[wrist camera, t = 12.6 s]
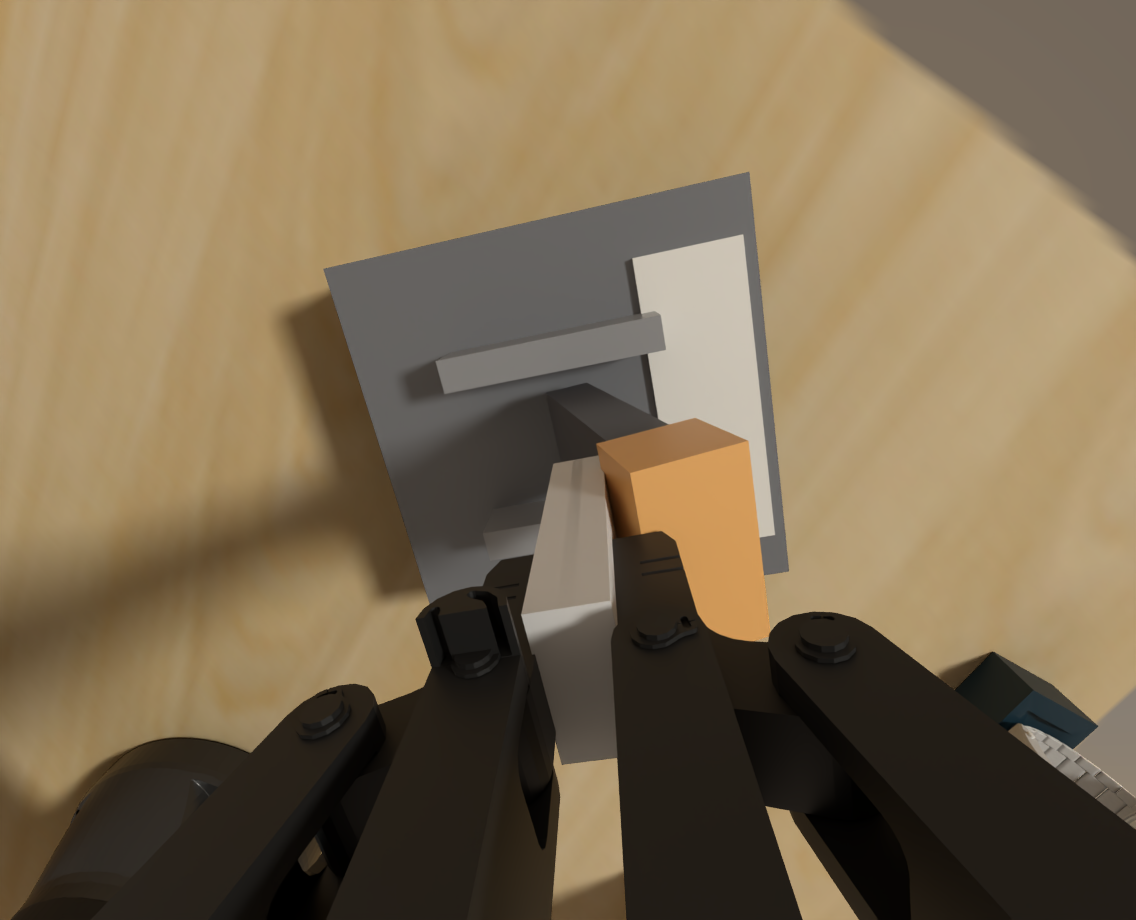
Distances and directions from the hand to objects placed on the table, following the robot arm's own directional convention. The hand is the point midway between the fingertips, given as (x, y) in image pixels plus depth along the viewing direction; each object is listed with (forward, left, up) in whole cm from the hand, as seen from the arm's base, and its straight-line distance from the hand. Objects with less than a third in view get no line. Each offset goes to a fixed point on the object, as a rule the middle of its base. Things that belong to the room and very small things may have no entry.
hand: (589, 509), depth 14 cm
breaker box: (-1, 0, -15) cm, 15 cm away
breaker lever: (-1, 0, -9) cm, 9 cm away
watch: (+19, -22, -15) cm, 33 cm away
